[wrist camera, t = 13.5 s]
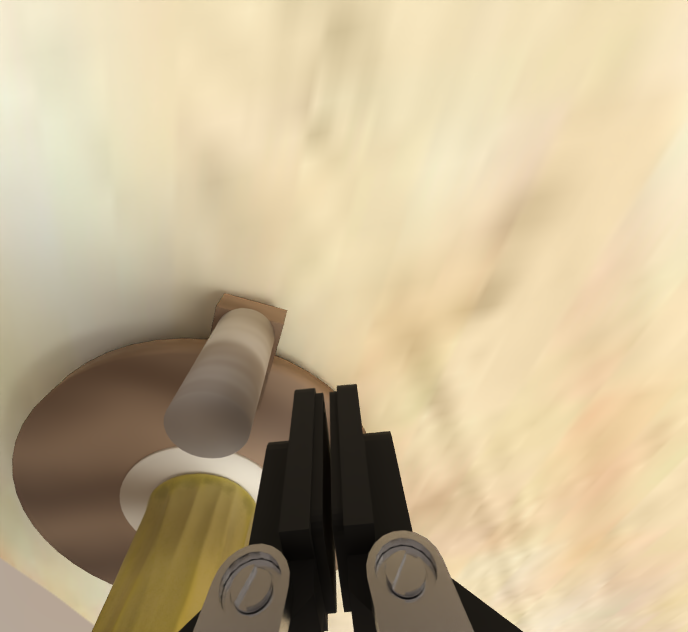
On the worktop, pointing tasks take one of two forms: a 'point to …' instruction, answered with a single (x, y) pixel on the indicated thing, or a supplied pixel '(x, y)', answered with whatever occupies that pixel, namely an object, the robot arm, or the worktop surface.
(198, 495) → the vase
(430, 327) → the worktop surface
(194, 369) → the turntable
